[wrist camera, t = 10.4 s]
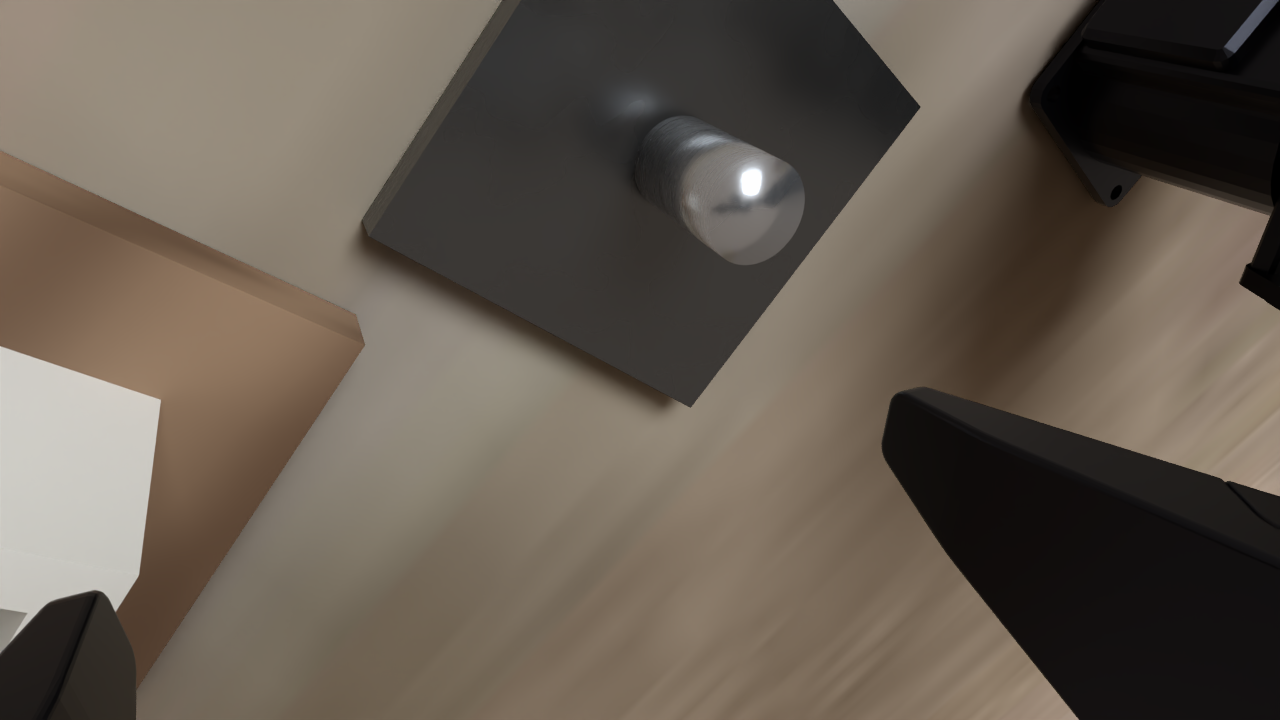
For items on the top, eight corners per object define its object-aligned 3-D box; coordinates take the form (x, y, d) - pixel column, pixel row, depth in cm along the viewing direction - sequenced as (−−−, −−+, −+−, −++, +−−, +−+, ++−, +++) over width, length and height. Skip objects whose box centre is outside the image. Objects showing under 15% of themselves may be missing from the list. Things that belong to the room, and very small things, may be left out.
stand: (894, 98, 21) (1028, 140, 18) (674, 389, 23) (756, 481, 19) (635, -207, 15) (760, -235, 12) (361, 219, 17) (398, 308, 13)
